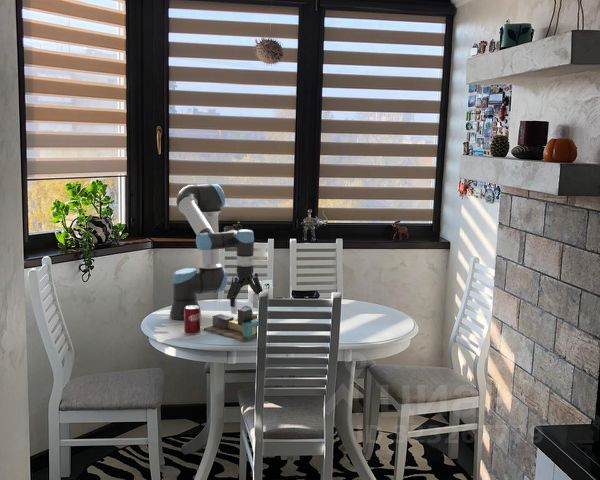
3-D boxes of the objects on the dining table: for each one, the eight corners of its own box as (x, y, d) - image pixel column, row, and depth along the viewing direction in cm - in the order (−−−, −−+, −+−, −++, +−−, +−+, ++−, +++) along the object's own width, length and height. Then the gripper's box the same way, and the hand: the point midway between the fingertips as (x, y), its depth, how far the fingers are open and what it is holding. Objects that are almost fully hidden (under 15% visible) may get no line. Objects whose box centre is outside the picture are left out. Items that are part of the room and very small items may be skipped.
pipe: (271, 314, 357) (273, 305, 366) (236, 313, 358) (240, 304, 368) (271, 326, 359) (274, 317, 368) (237, 325, 360) (240, 316, 370)
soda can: (181, 332, 342) (180, 307, 340) (193, 329, 347) (192, 304, 345) (191, 335, 337) (191, 309, 335) (203, 332, 342) (203, 306, 341)
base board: (203, 330, 346) (203, 328, 346) (226, 324, 356) (226, 322, 356) (244, 341, 328) (244, 339, 328) (266, 335, 339) (266, 332, 338)
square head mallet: (222, 327, 344) (222, 305, 342) (230, 325, 347) (230, 303, 346) (250, 335, 332) (250, 312, 330) (258, 332, 336) (258, 310, 334)
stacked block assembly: (208, 327, 347) (208, 313, 345) (224, 323, 354) (224, 309, 353) (248, 338, 330) (247, 324, 329) (263, 333, 337) (263, 319, 336)
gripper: (230, 270, 321) (230, 317, 325) (270, 261, 339) (270, 306, 343) (218, 267, 326) (218, 314, 330) (258, 259, 344) (258, 303, 348)
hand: (244, 310), depth 336 cm, fingers open, 13 cm apart
